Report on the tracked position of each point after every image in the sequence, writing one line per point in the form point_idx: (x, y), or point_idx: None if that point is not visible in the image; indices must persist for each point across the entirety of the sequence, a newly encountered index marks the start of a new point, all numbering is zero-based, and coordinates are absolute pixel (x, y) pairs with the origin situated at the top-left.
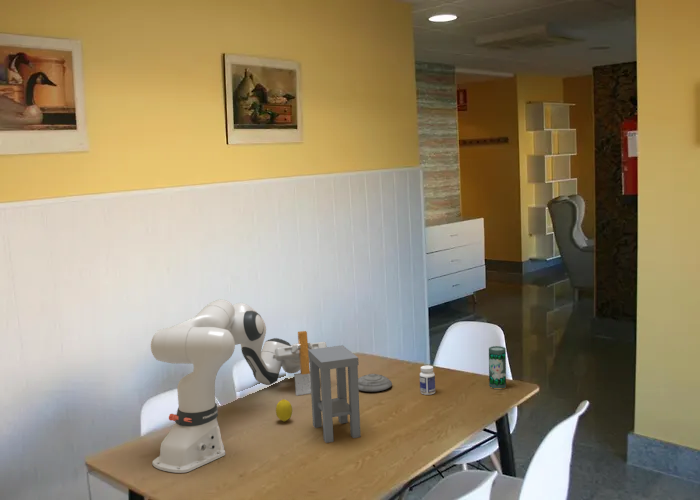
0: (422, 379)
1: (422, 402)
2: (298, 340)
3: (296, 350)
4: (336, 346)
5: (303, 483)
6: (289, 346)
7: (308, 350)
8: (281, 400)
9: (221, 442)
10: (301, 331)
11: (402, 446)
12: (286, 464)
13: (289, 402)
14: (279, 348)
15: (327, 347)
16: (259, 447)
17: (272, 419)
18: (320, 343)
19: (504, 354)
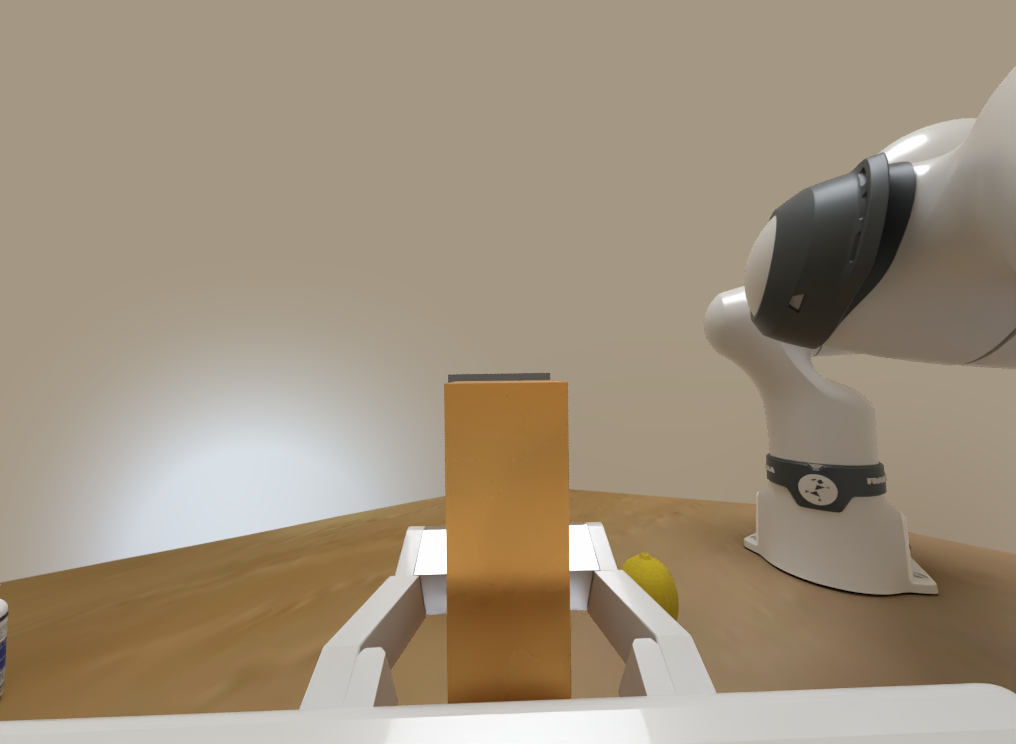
0: (2, 627)
1: (135, 640)
2: (566, 511)
3: (606, 623)
4: (468, 374)
5: (584, 497)
6: (763, 695)
7: (549, 374)
8: (652, 558)
9: (756, 528)
10: (509, 382)
11: (421, 520)
12: (610, 518)
13: (624, 565)
14: (956, 688)
15: (494, 374)
16: (678, 553)
17: (707, 669)
18: (88, 727)
19: None
